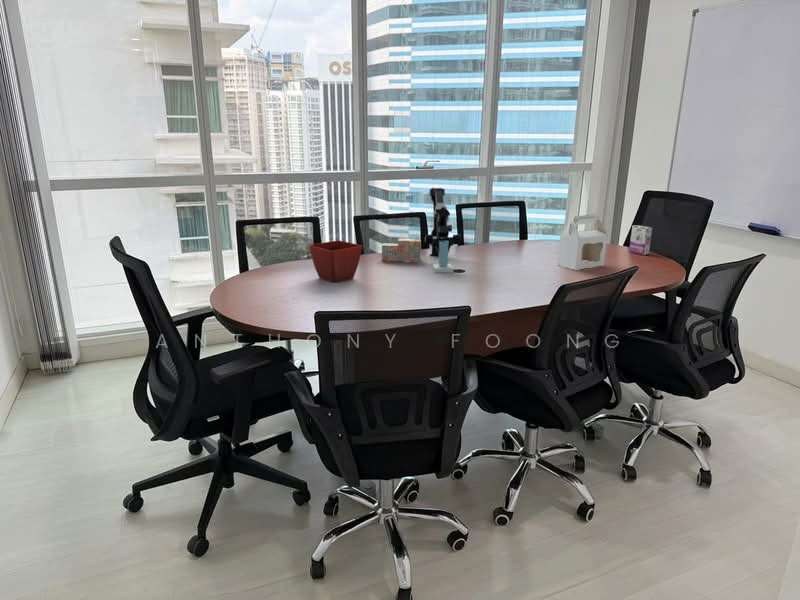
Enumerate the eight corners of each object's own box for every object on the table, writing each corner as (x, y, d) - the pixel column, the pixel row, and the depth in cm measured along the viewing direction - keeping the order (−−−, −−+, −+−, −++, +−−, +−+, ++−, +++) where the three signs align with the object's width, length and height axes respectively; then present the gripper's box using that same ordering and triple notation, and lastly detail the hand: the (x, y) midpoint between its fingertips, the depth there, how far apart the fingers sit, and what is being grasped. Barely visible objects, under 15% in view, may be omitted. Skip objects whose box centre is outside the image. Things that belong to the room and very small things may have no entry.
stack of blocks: (381, 261, 322) (381, 240, 318) (383, 259, 327) (383, 237, 324) (419, 262, 320) (420, 241, 316) (420, 260, 325) (420, 238, 322)
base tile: (432, 267, 309) (432, 263, 308) (451, 267, 309) (451, 263, 309) (434, 272, 299) (434, 268, 299) (453, 272, 300) (453, 268, 299)
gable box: (574, 271, 304) (580, 218, 296) (556, 265, 315) (561, 215, 307) (604, 266, 315) (610, 215, 306) (585, 261, 326) (591, 212, 317)
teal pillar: (438, 263, 306) (438, 241, 302) (446, 263, 306) (447, 241, 302) (439, 265, 301) (439, 243, 298) (447, 265, 301) (448, 243, 298)
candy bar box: (649, 254, 342) (653, 227, 337) (643, 255, 340) (647, 228, 335) (634, 251, 352) (637, 224, 347) (628, 251, 349) (631, 225, 344)
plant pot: (339, 271, 300) (338, 239, 295) (363, 278, 287) (363, 245, 282) (309, 277, 287) (308, 244, 282) (333, 285, 274) (332, 251, 269)
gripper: (425, 219, 300) (427, 244, 293) (461, 219, 300) (463, 244, 293) (424, 231, 310) (425, 256, 303) (458, 231, 310) (460, 256, 303)
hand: (443, 253), depth 300 cm, fingers closed on teal pillar, 4 cm apart
